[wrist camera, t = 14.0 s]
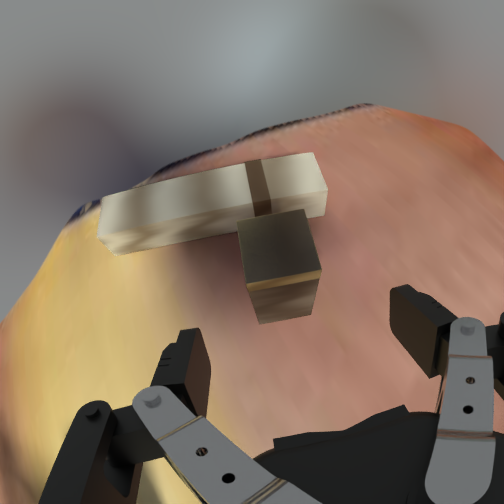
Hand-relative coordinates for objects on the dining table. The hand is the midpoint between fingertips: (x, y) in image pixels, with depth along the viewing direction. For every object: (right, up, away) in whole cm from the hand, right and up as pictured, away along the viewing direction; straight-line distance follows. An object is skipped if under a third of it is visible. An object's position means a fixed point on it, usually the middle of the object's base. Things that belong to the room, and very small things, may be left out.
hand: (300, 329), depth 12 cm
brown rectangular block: (+1, -1, +14) cm, 14 cm away
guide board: (-6, +7, +19) cm, 21 cm away
